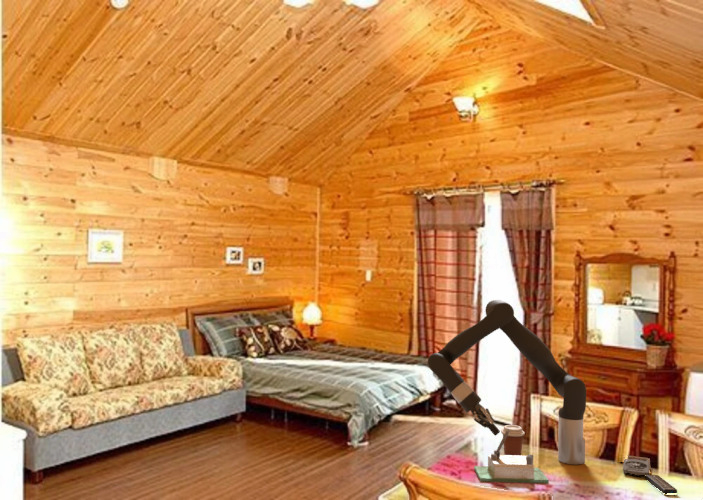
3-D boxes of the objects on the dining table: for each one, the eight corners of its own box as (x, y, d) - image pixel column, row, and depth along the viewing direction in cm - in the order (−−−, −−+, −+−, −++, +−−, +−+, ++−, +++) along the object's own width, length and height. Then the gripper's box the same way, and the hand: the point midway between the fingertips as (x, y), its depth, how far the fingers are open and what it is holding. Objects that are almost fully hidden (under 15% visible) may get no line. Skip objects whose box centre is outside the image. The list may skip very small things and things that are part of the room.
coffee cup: (524, 462, 234) (524, 431, 234) (500, 459, 237) (500, 429, 237) (524, 454, 243) (524, 425, 243) (501, 452, 246) (501, 423, 246)
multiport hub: (657, 481, 217) (657, 474, 217) (677, 496, 203) (677, 490, 203) (645, 480, 217) (645, 474, 217) (664, 496, 203) (664, 489, 203)
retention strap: (495, 458, 220) (492, 457, 220) (497, 456, 222) (494, 454, 223) (508, 432, 218) (506, 430, 218) (510, 430, 220) (508, 428, 221)
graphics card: (616, 453, 237) (650, 457, 232) (616, 462, 237) (650, 467, 232) (614, 466, 222) (651, 471, 217) (615, 477, 222) (651, 481, 217)
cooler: (538, 470, 225) (538, 448, 225) (548, 483, 212) (548, 459, 212) (474, 469, 225) (474, 446, 225) (480, 481, 213) (480, 457, 213)
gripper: (467, 393, 220) (500, 432, 214) (477, 387, 232) (509, 423, 226) (453, 406, 222) (485, 444, 216) (464, 399, 234) (495, 435, 228)
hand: (497, 433), depth 221 cm, fingers closed
